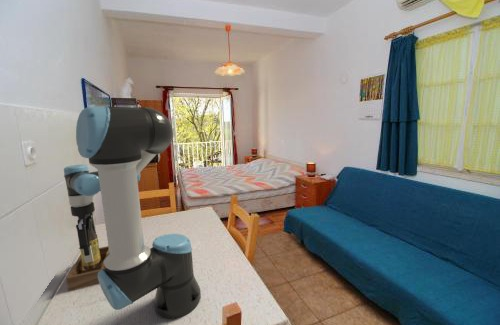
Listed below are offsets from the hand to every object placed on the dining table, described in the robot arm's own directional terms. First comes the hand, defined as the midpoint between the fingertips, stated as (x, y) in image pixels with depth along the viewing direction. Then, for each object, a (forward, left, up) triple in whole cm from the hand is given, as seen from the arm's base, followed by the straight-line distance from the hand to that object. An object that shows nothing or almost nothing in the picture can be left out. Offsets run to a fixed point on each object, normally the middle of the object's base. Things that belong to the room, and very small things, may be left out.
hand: (91, 257), depth 95 cm
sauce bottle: (0, 0, -4) cm, 4 cm away
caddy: (0, -5, -7) cm, 9 cm away
